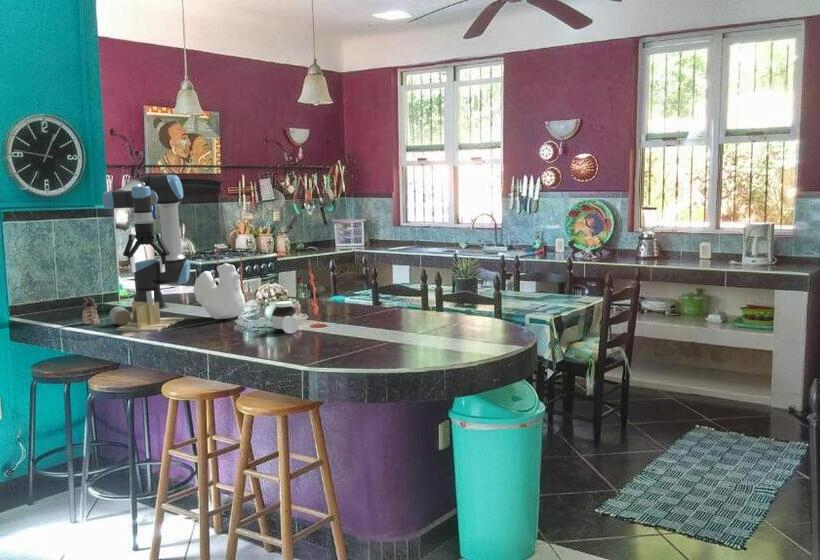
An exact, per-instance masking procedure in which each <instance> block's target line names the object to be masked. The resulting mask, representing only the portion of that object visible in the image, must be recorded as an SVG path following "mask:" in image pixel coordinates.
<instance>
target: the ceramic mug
mask: <svg viewBox="0 0 820 560" xmlns="http://www.w3.org/2000/svg"><path fill="white" fill-rule="evenodd" d="M108 317H109V320H110V321H111V323H113V324H115V325H118V326H124V325H127V324H130V323H132V322H134V321H133V316H131V312H130V311H128V310H127V309H126V308H124V307H122V306H114V307H113V308H111V309H110V311H109V315H108Z"/></svg>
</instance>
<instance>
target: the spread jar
mask: <svg viewBox="0 0 820 560" xmlns="http://www.w3.org/2000/svg"><path fill="white" fill-rule="evenodd" d="M274 304H275V305H274V306H275V307H274V308H273V311H272V314H271V315H272V316H271V320H272V321H271V322H272V329H273V330H274V331H275V332H277V333H285V334H289V335H290V334H294V333H296V332H297V331H298V330H299V322H298V315H297V309H295V307H294V306H293V301H292V300H291V301H290V300H284V301H283V300H282V301H277V302H275V303H274Z"/></svg>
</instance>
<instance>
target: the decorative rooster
mask: <svg viewBox="0 0 820 560" xmlns="http://www.w3.org/2000/svg"><path fill="white" fill-rule="evenodd" d="M216 269H217V272H218V275H219V277H215V278H214V276H213V275H212V273H211V272H210V270H205V271H203V272H201V273H200V274H199V276H198V277H197V278H196V279H195V283H194V286H193V288H192V289H193V294H194V296H195V297H194V298H195V299H196V302H197V303H198V304H200V305H201V307H203V308H204V309H205V311H206V312H207V314H208V315H209V316H210V317H212V318H213V319H214V320H223V319H233V318H237V317H236V316H238V315H239V314H241V312H242V309H243V306H244V304H245V305H246V300H245V296H244V293H243V291H242V288H241V280H240V278H241V275H240V274H239V273H238V271H237V269H236V267H235V265H234V264H230V263H223V264H220V265H219V266H217V268H216ZM216 282H217V283H218V284H216ZM241 315H242V314H241ZM239 316H240V315H239ZM239 316H238V317H239Z"/></svg>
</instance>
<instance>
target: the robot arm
mask: <svg viewBox="0 0 820 560" xmlns="http://www.w3.org/2000/svg"><path fill="white" fill-rule="evenodd" d="M183 198H184V189H183V185H182V181H181V179H180V177H179V176H178V175H176V174H157V175H143V176H142V175H141V176H138V177H136V178H133V179H131V180H129V181H127V182H126V183H125V185H124V186H122V187H120V188H118V189H116V190H114V191H113V190H112V191H111V190H108V191H104V192H103V193H102V196H101V200H102V205H103V207H104V209H107V210H108V209H109V210H111V209H112V210H113V209H132V210H133V219H134V220H133V221H134V232H135V234H134V233H131V234H128V240H127V243H126V245H125V248H124V251H123V254H122V256H123V257H127V263H128V265H130V273H131V274H133V276H134V277H133V278H134V286H135V287H134V288H135V289H134V290H135V294H134V298H133V301H136V302H147V294H146V291H154V302H159V308H162V307H164V306H166V300H165V298H164V295H163V293H162V290H161V286H164V285H181V284H182V285H183V284H187V282H188V281H189V279H190V274H191V273H190V272H191V262H190V260H189V259H187V257H186V255H184V253H183V249H182V248H183V247H182V238H181V237H182V236H181V228H180V219H179V218H180V217H179V208H178V207H179V204H180V203H181V199H183ZM155 205H156V206H158V209H159V216H160V217H159V218H160V227H161V233H156V234H155V233H154V230H155V229H154V228H155V227H154V222H153V221H154V218H153V208H152V207H155ZM135 239H136V241H135ZM154 239H155V240H156V241H157V242H156V241H155V240H154ZM133 243H134V245H133ZM157 243H158V244H157ZM144 245H146V246H147V245H150V246H151V247H152V248H153V249H154V250H155V251H156V253H158V255H159V259H158V258H151V259H150V258H149V259H144V260H140V261H137V262H136V260H135V259H136V258H135V256H134V254H136V252H137V250H138V249H139V247H140V246H144Z"/></svg>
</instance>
